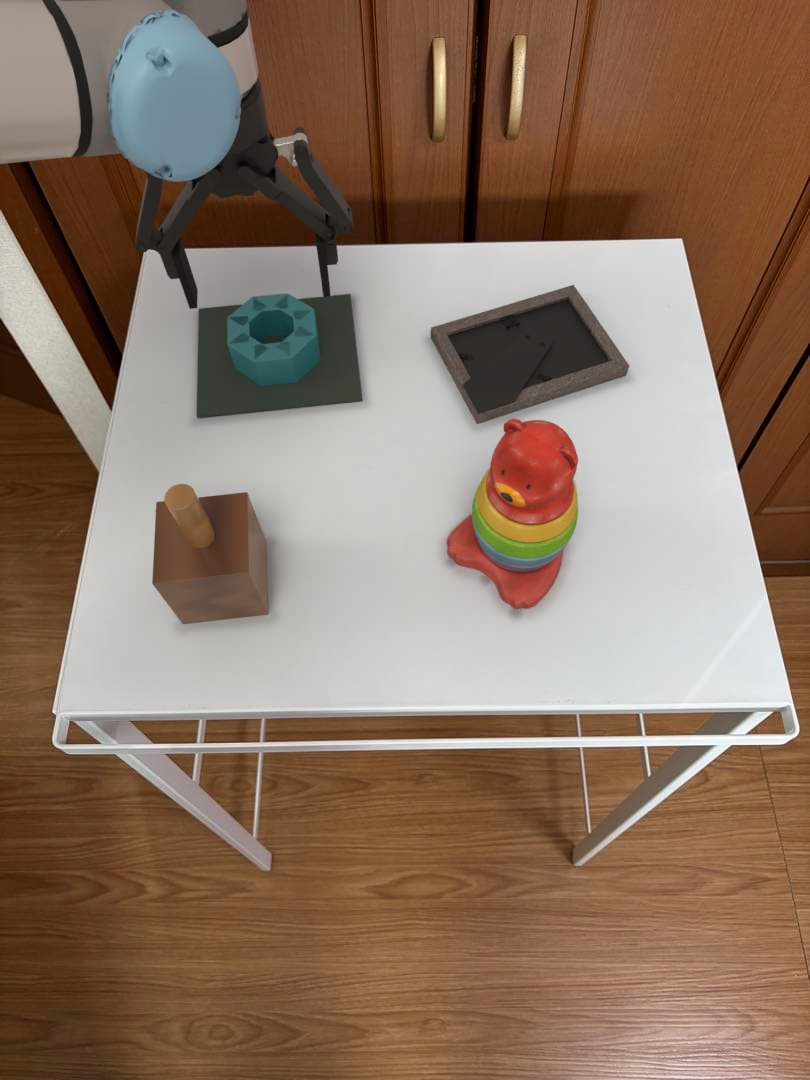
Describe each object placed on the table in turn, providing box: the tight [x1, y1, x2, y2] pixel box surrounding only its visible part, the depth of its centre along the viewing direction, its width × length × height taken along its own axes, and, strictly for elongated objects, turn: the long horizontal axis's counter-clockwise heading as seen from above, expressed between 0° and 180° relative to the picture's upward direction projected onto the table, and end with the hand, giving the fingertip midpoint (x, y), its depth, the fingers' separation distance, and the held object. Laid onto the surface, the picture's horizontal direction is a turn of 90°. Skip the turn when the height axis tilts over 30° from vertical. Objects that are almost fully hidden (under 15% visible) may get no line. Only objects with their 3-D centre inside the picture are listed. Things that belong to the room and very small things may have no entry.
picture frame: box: [430, 284, 630, 425], centre depth 83 cm, size 13×2×18 cm
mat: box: [196, 293, 363, 419], centre depth 85 cm, size 18×16×1 cm
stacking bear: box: [446, 418, 579, 610], centre depth 65 cm, size 11×10×18 cm
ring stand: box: [151, 483, 269, 625], centre depth 65 cm, size 8×8×16 cm
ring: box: [227, 292, 321, 386], centre depth 83 cm, size 10×10×4 cm
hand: (260, 293), depth 77 cm, fingers open, 13 cm apart
